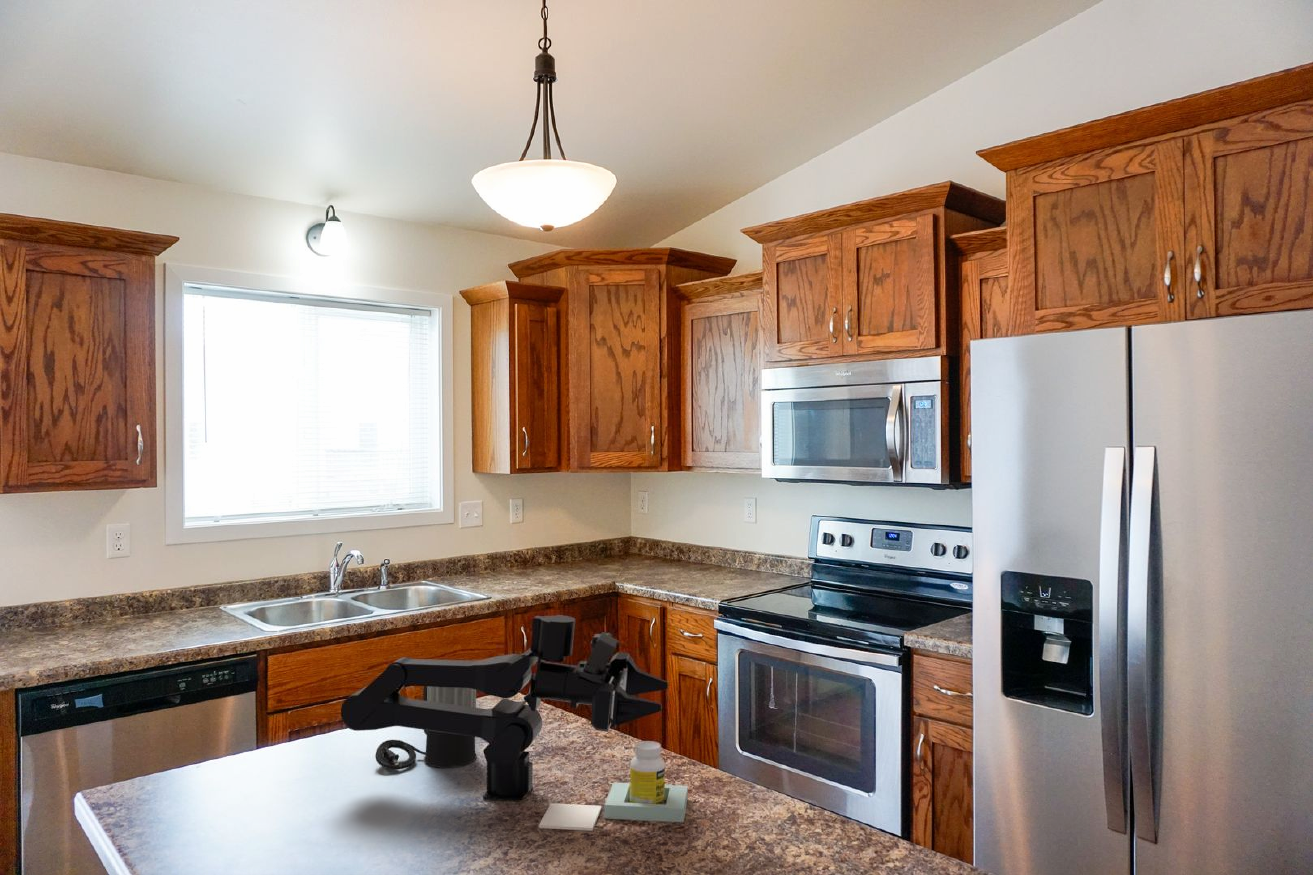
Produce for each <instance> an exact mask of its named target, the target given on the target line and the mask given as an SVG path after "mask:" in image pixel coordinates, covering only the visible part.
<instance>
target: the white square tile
mask: <svg viewBox="0 0 1313 875" xmlns="http://www.w3.org/2000/svg"><path fill="white" fill-rule="evenodd" d="M602 809H603V808H602V805H595V804H594V805H592V804H591V805H590V804H573V803H550V804H549V806H548V808H547V810H546V811H545V813H544V815H543V817H542V819H541V821H540V823H538V829H552V830H568V831H569V830H572V831H588V832H589V831H590V832H593V830H594V828H595V826H596V824H597V821H598V818H599V816H600V814H601V811H602Z"/></svg>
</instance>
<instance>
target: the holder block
mask: <svg viewBox="0 0 1313 875" xmlns="http://www.w3.org/2000/svg"><path fill="white" fill-rule="evenodd" d="M688 790H689V789H688V785H679V784H678V785H677V784H676V785H675V784H674V785H673V784H665V790H664V800H666V803H664V804H645V803H630V782H616V781H615V782H612V785H611V788H610V789H609V793H608V795H607V798H606V799H605V802H604V804H603V805H604V806H603V808H604V809H603V810H604V813H603V814H604V817H603V818H604V819H611V820H613V819H614V820H631V821H632V820H634V821H648V822H649V821H650V822H651V821H652V822H667V823H668V822H670V823H684V822H685V816H686V810H687V804H688V792H689V791H688Z"/></svg>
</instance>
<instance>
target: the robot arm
mask: <svg viewBox="0 0 1313 875" xmlns="http://www.w3.org/2000/svg"><path fill="white" fill-rule="evenodd" d="M575 624H576V618H574V617H573V616H569V615H563V614H556V615H544V616H543V615H542V616H541V615H536V616H534V617H533V618H532V622H531V629H532V634H531V644H530V647H529V648H528V649H527V650H526V651H525V652H523V653H522V654H519V653H511V654H510V653H509V654H504V655H497V656H492V657H489V658H485V659H484V658H483V659H480V660H479V659H478V660H463V659H461V660H459V659H458V660H456V659H433V658H432V659H431V658H429V659H428V658H427V659H426V658H424V659H423V658H422V659H421V658H410V657H407V656H403V657H401V658H398V659H396V660H395V661H393V662H391V663H390V664H388V665H387V667H386V668H385V670H383V671H382V672H381V673H380V674H379V675H378V676H377V677H376V678H375V679H374V680H373V681H372V682H370V683H369V684H368V685H367V686H365V687H363V688H361V689H360V690H358V691H356V692H355V693H353V694H351V695H350V696H348V697H347V698H345V700H343V702H342V704H341V706H340V707H341V708H340V717H341V720H342V722H343V724H345V726H346V728H347V729H349V730H351V731H358V732H359V731H376V730H380V729H381V730H383V729H388V728H392V727H400V728H401V727H402V728H409V729H416V730H423V731H424V730H430V731H437V732H444V733H451V734H459V735H466V736H473V737H475V738H480V739H482V740H483V741H485V742H486V743H488V744H487V745H486V747H485V748H484V749H483V750H482V752H483V755H484V758H485V762H486V791H485V792H484V793H483V795H482V799H483V800H491V801H492V800H493V801H494V800H495V801H513V802H514V801H515V802H516V801H517V802H522V801H524V799H525V798H526V796H527V795H528V793H529V792H530V791H531V789H532V788H533V772H534V771H533V766H534V764H533V761H530V751H526V749H528V748H529V747H530V746H531V745H532V743H533V742H534V741H535V740H536V738H537V736H538V735H539V734H540V732H541V731H542V727H543V719H542V716H541V713H540V712H539V711H538V708H539V706H540V705H541V704H542V702H541V701H542V699H545V700H550V701H551V700H553V701H558V702H567V703H570V705H569V707H570V708H574V709H577V708H578V706H579V705H581V704H582V705H586V706H591V713H590V714H591V716H590V725H591V726H592V727H593V728H594V730H595V731H599V732H606V733H608V732H609V730H610V728H611V729H616V728H617V727H618V726H621V725H624V724H626V723H629V722H632V721H635V720H638V719H641V718H644V717H648V716H650V715H653V714H657V713H660V712H661V711H662V706H663V705H662V703H660V702H657V701H653V700H650V699H646V698H643V697H638V696H637V695H642V694H643V695H644V694H648V693H656V692H659V691H665V690H667V689H668V686H669V682H668V681H667V680H664V679H662V678H659V677H658V676H655V675H653V674H650V673H648V672H647V671H644V670H642V669H640V668H639V667H638V666H637V664H636V663H635V661H634V658H633V657H632V656H630V653H629V652H623V651H622V652H621V651H618V652H617V653H615V654H614V651H615V650H616V648H617V646H618V645H619V642H620V641H619V640H618V639H616V638H615V637H612V633H611V632H607V633H606V632H604V631H602V632H601V633H595V634H594V636H593V638H592V640H591V642H590V647H591V648H592V651H591V653H590V655H589V657H588V659H587V660H581V661H579V662H578V663H577V665H573V664H572V665H571V664H566V663H565V664H564V663H562V662H565V661H566V657H570V656H572V655H573V645H574V635H575ZM613 654H614V655H613ZM610 658H611V659H610ZM609 660H610V661H609ZM536 664H537V665H536ZM535 665H536V673H533V674H532V669H533V667H534V666H535ZM528 683H529V691H528V693H527V694H526V695H524V696H523V700H522V701H515V700H512V699H510V698H513V697H515V696H516V695H517V694H518V693H519V692H520V691H521V690H522V689H524V688H525V687H526V686H527V684H528ZM405 686H406V687H408V686H409V687H410V686H413V687H424V686H431V687H458V688H471V689H475V690H476V691H478V692H480V693H482V694H484V695H489V696H493V697H496V698H497V697H498V698H501V699H500V700H499V701H498V702H497V703H496V704H495V705H494V706H493V707H492V708H482V707H481V708H480V707H476V708H475V707H467V706H460V705H452V704H445V703H438V702H430V701H423V699H422V700H421V699H415V698H414V699H413V698H408V697H405V696H403V695H402V694H400V692H401V690H402V689H403V688H404V687H405ZM611 720H612V721H611Z"/></svg>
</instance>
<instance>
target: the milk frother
mask: <svg viewBox="0 0 1313 875" xmlns="http://www.w3.org/2000/svg"><path fill="white" fill-rule="evenodd" d="M422 690H423V691H422V700H423V701H430V702H438V703H445V704H452V705H460V706H467V707H475V708H477V690H475V689H471V688H458V687H431V686H423V689H422ZM423 732H424V734H425V735H426V740H425V741H426V742H425V743H426V744H425V751H422V750H420V749H418V748H416V747H415V746H413V745H411V744H410V743H408V742H406V741H404V740H400V739H388V740H385V741H383V742H382V743H380V744H379V745H378V747H377V748H376V751H375V756H374V757H375V759H376V760H375V761H376V763H377V764H378V765H379V766H380V767H383V768H384V769H387V770H395V771H396V770H404V769H409V768H410V767H411V766H413V765H414V763H416V759H417V754H416V752H417V753H419V754H422V755H424V757H423V760H424V763H425V764H426V765H428V766H430V767H433V768H434V767H435V768H444V769H445V768H455V767H462V766H466V765H468V764H471V763H473V762H475V760H476V759H477V753H476V737H473V736H466V735H459V734H451V733H444V732H437V731H430V730H423ZM391 748H392V749H394V748H396V749H399V750H403V751H405V753H407V754H408V759H406V760H404V761H402V762H398V761H399V759H400V755H399V754H396V753H395V752H394V751H392V750H390V749H391Z"/></svg>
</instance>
